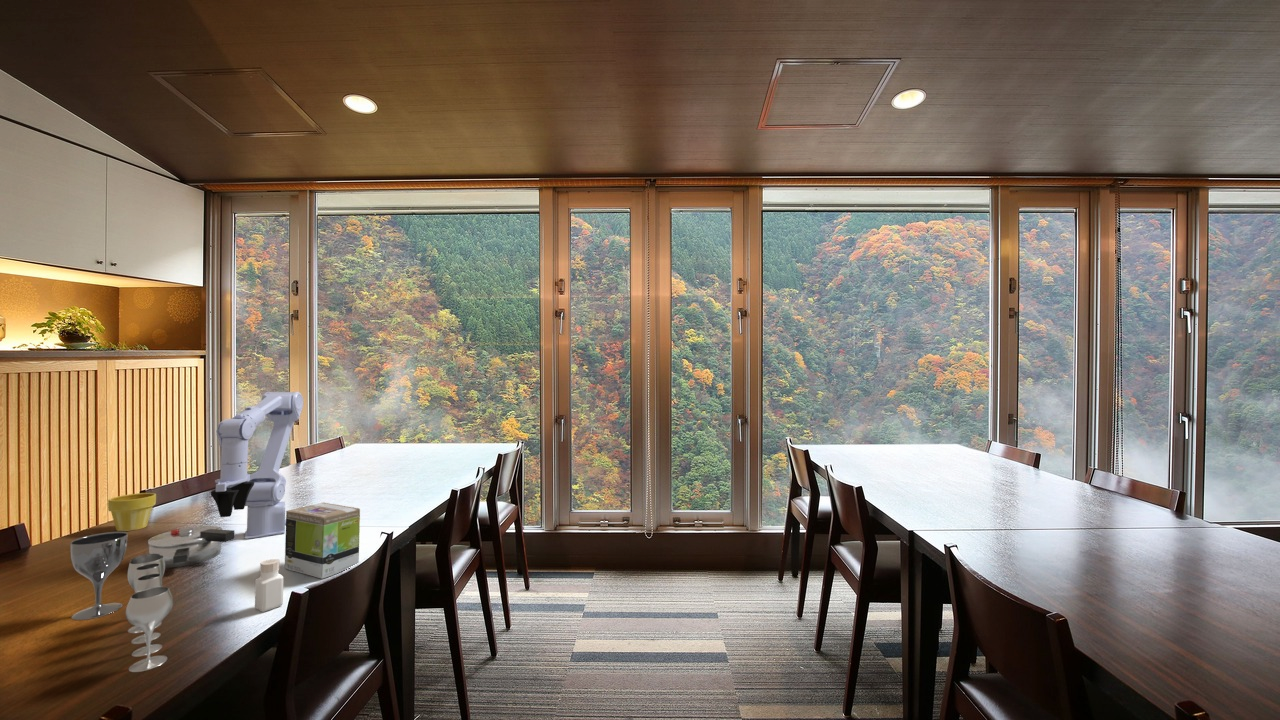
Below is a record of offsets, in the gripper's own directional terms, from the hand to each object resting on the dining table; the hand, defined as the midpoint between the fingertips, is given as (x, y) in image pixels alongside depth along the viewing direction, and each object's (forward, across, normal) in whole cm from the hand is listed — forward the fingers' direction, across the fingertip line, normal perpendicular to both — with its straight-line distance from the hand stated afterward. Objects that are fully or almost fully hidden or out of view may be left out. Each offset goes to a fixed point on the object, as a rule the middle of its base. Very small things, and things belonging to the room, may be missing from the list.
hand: (232, 512), depth 137 cm
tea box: (+11, +18, +27) cm, 34 cm away
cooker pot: (+11, +5, -8) cm, 14 cm away
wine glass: (+11, +32, -10) cm, 35 cm away
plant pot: (+10, -31, -38) cm, 50 cm away
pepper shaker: (+12, +39, +23) cm, 47 cm away
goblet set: (+12, +47, +6) cm, 49 cm away
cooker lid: (+5, +3, -6) cm, 9 cm away
